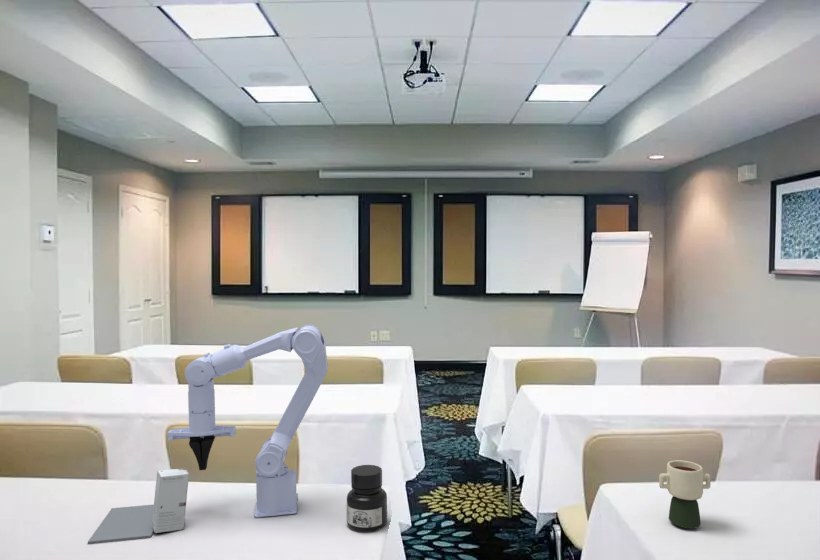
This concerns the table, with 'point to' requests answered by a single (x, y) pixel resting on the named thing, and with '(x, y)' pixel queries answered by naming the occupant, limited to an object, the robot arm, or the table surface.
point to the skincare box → (170, 500)
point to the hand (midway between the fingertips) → (203, 468)
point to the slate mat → (125, 525)
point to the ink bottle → (366, 499)
